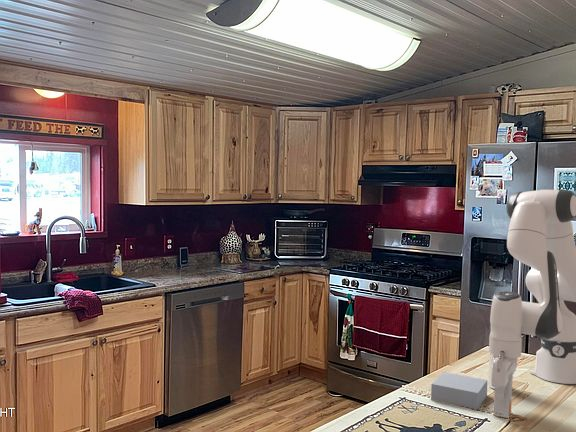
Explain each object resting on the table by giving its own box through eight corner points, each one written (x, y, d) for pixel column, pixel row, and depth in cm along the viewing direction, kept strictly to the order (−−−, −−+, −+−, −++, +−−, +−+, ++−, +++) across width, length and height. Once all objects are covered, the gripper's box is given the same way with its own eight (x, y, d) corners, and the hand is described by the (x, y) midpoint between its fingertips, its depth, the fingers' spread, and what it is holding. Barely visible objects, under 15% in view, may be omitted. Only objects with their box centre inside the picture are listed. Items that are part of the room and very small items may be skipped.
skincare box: (508, 418, 156) (510, 377, 156) (493, 415, 158) (494, 374, 158) (511, 412, 161) (513, 372, 161) (496, 409, 163) (497, 369, 163)
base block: (443, 386, 182) (443, 371, 182) (486, 395, 175) (487, 380, 175) (431, 399, 170) (431, 383, 170) (477, 409, 163) (477, 393, 163)
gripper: (510, 358, 149) (508, 408, 149) (521, 342, 166) (520, 387, 167) (486, 354, 152) (484, 403, 152) (499, 339, 169) (498, 383, 170)
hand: (503, 394), depth 160 cm, fingers closed on skincare box, 6 cm apart
